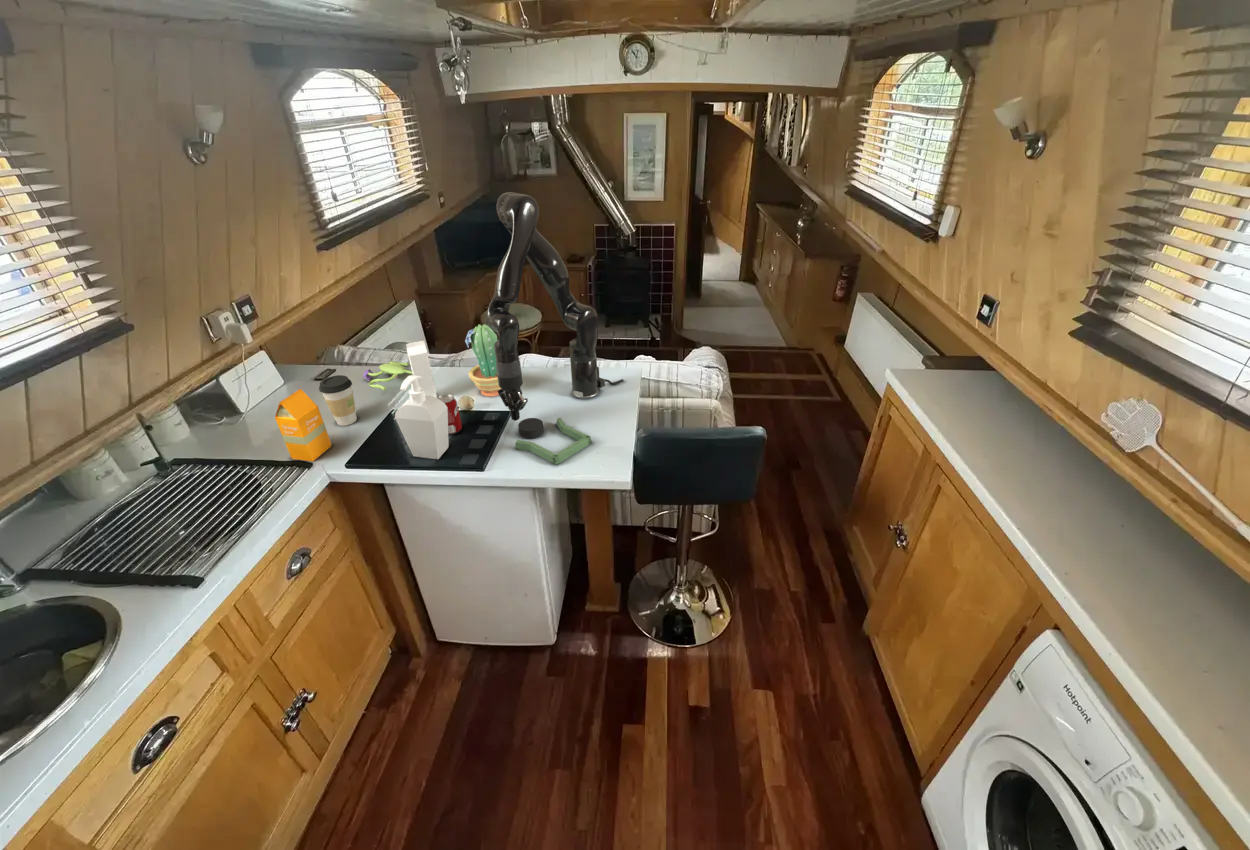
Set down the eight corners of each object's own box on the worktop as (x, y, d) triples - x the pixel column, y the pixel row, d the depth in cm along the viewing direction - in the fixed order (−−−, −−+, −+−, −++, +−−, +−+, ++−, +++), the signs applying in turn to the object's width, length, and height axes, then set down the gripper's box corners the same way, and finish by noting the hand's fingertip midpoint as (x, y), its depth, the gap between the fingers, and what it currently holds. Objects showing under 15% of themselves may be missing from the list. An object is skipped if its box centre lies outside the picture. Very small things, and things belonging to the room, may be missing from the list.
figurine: (375, 401, 198) (371, 388, 195) (359, 374, 217) (355, 361, 214) (427, 387, 207) (424, 374, 204) (407, 362, 225) (403, 350, 222)
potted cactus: (488, 378, 212) (478, 316, 199) (522, 385, 207) (514, 321, 194) (462, 395, 201) (450, 331, 187) (497, 404, 195) (487, 337, 182)
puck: (532, 423, 184) (531, 415, 182) (549, 431, 179) (548, 423, 177) (514, 433, 178) (512, 425, 177) (530, 441, 174) (529, 433, 172)
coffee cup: (369, 416, 189) (357, 377, 181) (345, 430, 181) (332, 390, 173) (348, 411, 192) (335, 372, 185) (324, 424, 185) (310, 384, 177)
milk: (418, 397, 200) (404, 340, 189) (435, 393, 202) (422, 337, 191) (420, 404, 195) (406, 346, 184) (438, 400, 198) (425, 343, 186)
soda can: (456, 437, 177) (449, 404, 171) (437, 435, 178) (429, 402, 172) (465, 426, 183) (459, 394, 176) (447, 424, 184) (440, 392, 177)
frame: (559, 423, 183) (559, 417, 182) (595, 440, 174) (595, 434, 173) (515, 448, 171) (514, 441, 170) (550, 468, 162) (550, 461, 160)
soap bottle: (402, 460, 166) (381, 384, 153) (419, 442, 175) (401, 368, 161) (439, 465, 164) (421, 387, 150) (455, 446, 172) (439, 371, 159)
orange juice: (332, 445, 174) (312, 389, 163) (312, 461, 167) (290, 403, 156) (310, 442, 175) (289, 387, 165) (290, 458, 168) (267, 401, 158)
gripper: (532, 373, 172) (537, 421, 181) (505, 362, 179) (511, 408, 188) (513, 382, 167) (519, 430, 176) (486, 370, 174) (494, 417, 183)
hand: (515, 419), depth 182 cm, fingers closed
